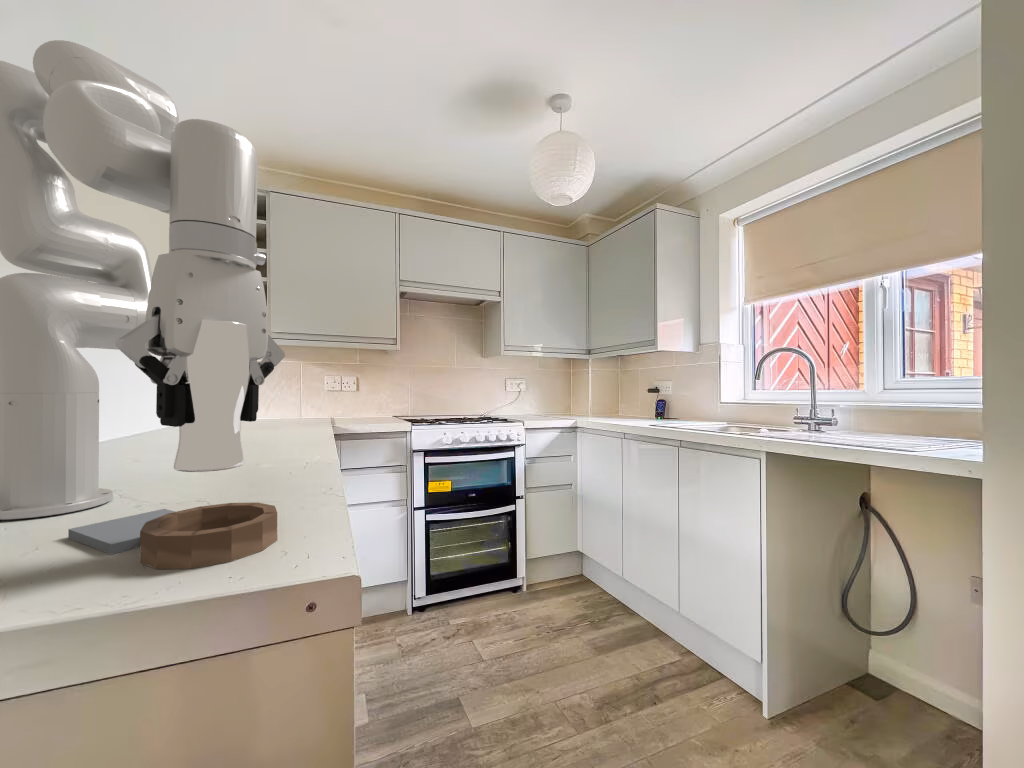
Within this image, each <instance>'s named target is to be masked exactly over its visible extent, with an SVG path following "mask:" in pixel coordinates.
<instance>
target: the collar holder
mask: <svg viewBox="0 0 1024 768" xmlns="http://www.w3.org/2000/svg"><path fill="white" fill-rule="evenodd" d="M276 541H278V510H277V508H276V505H271V504H267V503H262V502H227V503H226V502H225V503H219V504H210V505H202V506H195V507H192V508H187V509H183V510H177V511H175V512H173V513H168V514H166V515H163V516H161V517H158V518H155V519H153V520H150V521H148V522H145V524H144V526H143V527H142V529H141V531H140V547H139V563H140V564H141V565H145V566H148V567H150V568H152V569H155V570H179V569H181V570H182V569H186V570H187V569H192V570H193V569H196V568H202V567H203V568H204V567H207V566H212V565H218V564H219V565H220V564H225V563H230V562H234V561H236V560H239V559H242V558H245V557H247V556H251V555H253V554H254V555H255V554H257V553H260V552H263V551H264V550H265V549H267V548H269V547H270V546H271V545H272V544H274V543H276Z"/></svg>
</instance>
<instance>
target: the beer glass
mask: <svg viewBox="0 0 1024 768" xmlns="http://www.w3.org/2000/svg"><path fill="white" fill-rule="evenodd" d="M250 374H251V349H250V339H249V331H248V325H246V324H242V323H236V322H228V321H219V320H207V319H202V323H201V328H200V331H199V335H198V338H197V341H196V344H195V348H194V351H193V354H191V355H189V356H187V357H185V371H184V373H183V374H182V376H181V378H180V385H184V386H185V388H186V408H185V424H184V425H183V426H180V427H178V431H179V432H178V433H179V436H178V445H177V449H176V454H175V458H174V463H173V470H175V471H177V472H186V473H207V472H217V471H218V472H219V471H226V470H231V469H236V468H239V467H241V466H242V467H243V465H244V464H245V456H244V452H243V447H242V440H241V429H242V422H243V421H242V416H243V411H244V406H245V402H246V397H247V393H248V388H249V382H250Z"/></svg>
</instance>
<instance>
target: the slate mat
mask: <svg viewBox="0 0 1024 768" xmlns="http://www.w3.org/2000/svg"><path fill="white" fill-rule="evenodd" d="M173 512H176V511H175V510H171V509H168V508H167V509H166V508H162V509H155V510H152V511H148V512H143V513H142V512H141V513H137V514H133V515H128V516H124V517H120V518H115V519H109V520H105V521H101V522H96V523H91V524H85V525H82V526H78V527H77V526H76V527H72V528H68V536H67V537H68V539H69V540H72V541H75V542H77V543H80V544H83V545H85V546H88V547H90V548H93V549H96V550H99V551H101V552H104V553H106V554H108V555H114V554H119V553H122V552H125V551H131V550H133V549H137V548H140V531H141V529H142V527H143V526H144V524H145V522H148V521H150V520H153V519H155V518H158V517H161V516H163V515H166V514H168V513H173Z"/></svg>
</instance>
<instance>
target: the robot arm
mask: <svg viewBox="0 0 1024 768" xmlns="http://www.w3.org/2000/svg"><path fill="white" fill-rule="evenodd" d="M32 65H33V66H32V67H33V70H34V72H33V71H32V70H28V69H27V68H24V67H21V66H19V65H16V64H13V63H10V62H6V61H4V60H0V255H2V257H3V258H4V260H6V261H7V262H8V263H9V264H12V265H13V266H16V267H18V268H21V269H23V270H28V271H32V272H19V273H17V272H16V273H11V274H7V275H4V276H1V277H0V521H9V520H23V519H34V518H41V517H48V516H56V515H62V514H67V513H73V512H77V511H82V510H87V509H90V508H95V507H98V506H102V505H104V504H106V503H108V502H111V501H112V500H113V499H114V491H113V490H111V489H110V488H109V489H108V488H99V470H100V469H99V462H100V461H99V455H100V453H99V452H100V450H99V449H100V447H99V446H100V443H99V442H100V431H99V430H100V381H99V377H98V374H97V372H96V370H95V369H94V367H93V366H92V365H91V364H90V362H89V361H88V360H87V359H86V358H85V357H84V356H83V355H82V354H81V352H80V351H79V350H78V349H86V348H89V349H103V350H117V351H120V352H121V353H122V354H123V355H125V356H126V357H127V358H128V359H129V360H130V361H132V362H133V363H134V365H135V367H137V368H138V369H139V370H140V371H141V372H142V373H144V374H145V375H146V376H147V377H148V378H149V379H150V381H151V383H152V384H154V385H156V401H155V402H156V404H155V405H156V406H155V407H156V408H155V410H156V411H155V414H156V417H157V418H158V419H159V422H160V424H161V426H164V427H165V426H166V427H173V428H174V427H175V428H177V427H178V428H179V427H180V426H183V425H184V424H185V408H186V388H185V386H184V385H180V378H181V376H182V374H183V373H184V371H185V357H187V356H189V355H191V354H193V351H194V348H195V344H196V341H197V338H198V335H199V331H200V328H201V323H202V319H207V320H219V321H228V322H236V323H242V324H246V325H248V331H249V339H250V349H251V374H250V382H249V388H248V393H247V397H246V402H245V406H244V411H243V416H242V421H241V422H249V423H250V422H256V420H257V416H258V415H257V414H258V411H259V401H260V400H259V397H260V395H259V394H260V393H259V391H260V386H262V385H264V383H265V379H266V378H267V377H268V376H269V375H270V374H271V373H272V372H273V371H274V370H275V367H277V366H278V365H279V363H280V362H282V360H283V359H284V358H285V357H286V355H285V352H284V351H283V349H282V348H281V347H280V346H279V345H278V344H277V342H276V341H275V340H274V339H273V337H272V336H270V335H269V324H268V323H269V322H268V321H269V320H268V307H267V298H266V291H265V285H264V282H263V276H262V274H261V273H262V272H261V271H260V270H257V269H256V268H257V266H258V265H259V266H264V265H265V263H266V260H267V258H266V255H265V254H264V253H262V252H259V251H258V243H257V220H258V219H257V217H258V216H257V215H258V213H257V212H258V175H259V174H258V172H259V169H258V168H259V167H258V164H259V162H258V153H257V151H256V148H255V146H254V144H253V143H252V142H251V141H250V139H248V138H247V137H246V136H245V135H244V134H243V133H241V132H240V131H238V130H236V129H234V128H232V127H230V126H228V125H226V124H222V123H220V122H217V121H216V122H215V121H212V120H208V119H199V118H191V119H185V120H181V121H179V112H178V109H177V106H176V104H175V102H174V101H173V99H172V97H171V95H170V94H169V93H167V91H165V89H163V88H162V87H160V86H159V85H157V84H156V83H154V82H153V81H150V80H149V79H147V78H145V77H143V76H142V75H140V74H138V73H136V72H134V71H132V70H130V69H129V68H127V67H125V66H123V65H122V64H120V63H118V62H116V61H114V60H112V59H111V58H109V57H107V56H105V55H103V54H102V53H100V52H98V51H96V50H93V49H92V48H90V47H87V46H85V45H83V44H80V43H76V42H73V41H70V40H69V41H68V40H60V39H59V40H57V39H56V40H55V39H54V40H49V41H46V42H44V43H42V44H40V45H39V46H38V47H37V48H36V50H35V51H34V54H33V56H32ZM38 141H39V142H42V143H44V144H47V146H48V148H49V150H50V151H51V153H52V154H53V156H54V157H55V158H56V160H57V161H58V162H59V163H58V162H57V161H56V160H55V159H54V158H53V157H52V156H51V155H50V154H49V153H48V152H47V151H46V150H45V149H44V148H43V147H42V146H41V145H40V144H39V143H38ZM60 164H61V166H62V167H63V168H64V170H65V171H66V172H67V173H69V174H70V176H72V177H73V178H74V179H76V181H78V182H80V183H81V184H83V185H84V186H87V187H88V188H91V189H93V190H95V191H97V192H99V193H100V192H101V193H103V194H106V195H109V196H112V197H116V198H118V199H122V200H126V201H129V202H132V203H135V204H138V205H142V206H145V207H148V208H151V209H154V210H157V211H159V212H162V213H165V214H167V215H168V216H169V218H168V219H169V226H168V230H169V231H168V252H167V253H161V254H159V255H157V259H156V262H155V265H154V267H153V273H152V268H151V263H150V258H149V254H148V251H147V248H146V246H145V244H144V242H143V241H142V239H141V238H140V237H139V235H137V234H136V233H135V232H134V231H132V230H131V229H129V228H127V227H125V226H123V225H120V224H116V223H114V222H109V221H106V220H102V219H99V218H95V217H91V216H89V215H87V214H85V213H83V212H81V211H80V209H79V208H78V205H77V199H76V192H75V187H74V185H73V183H72V181H71V179H70V178H69V176H68V175H67V173H66V172H65V171H64V170H63V168H62V167H61V166H60ZM35 272H36V273H35ZM154 355H155V356H154ZM156 356H157V357H160V359H158V358H157V357H156ZM258 360H261V361H258Z"/></svg>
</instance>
